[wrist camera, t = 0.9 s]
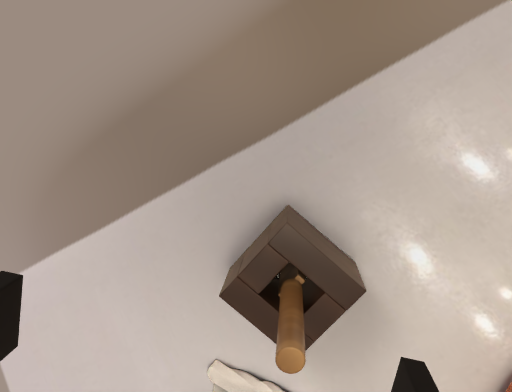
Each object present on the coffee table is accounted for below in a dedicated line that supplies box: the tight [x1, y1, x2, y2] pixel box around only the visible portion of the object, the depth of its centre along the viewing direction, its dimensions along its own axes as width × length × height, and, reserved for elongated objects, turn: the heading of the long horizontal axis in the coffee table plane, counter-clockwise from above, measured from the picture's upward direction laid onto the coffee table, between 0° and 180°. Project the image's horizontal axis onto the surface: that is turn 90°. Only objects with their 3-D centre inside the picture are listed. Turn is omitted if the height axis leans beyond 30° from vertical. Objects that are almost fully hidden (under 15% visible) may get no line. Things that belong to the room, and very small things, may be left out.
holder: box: [219, 205, 366, 351], centre depth 37 cm, size 8×8×6 cm
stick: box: [276, 262, 306, 374], centre depth 32 cm, size 2×2×15 cm
